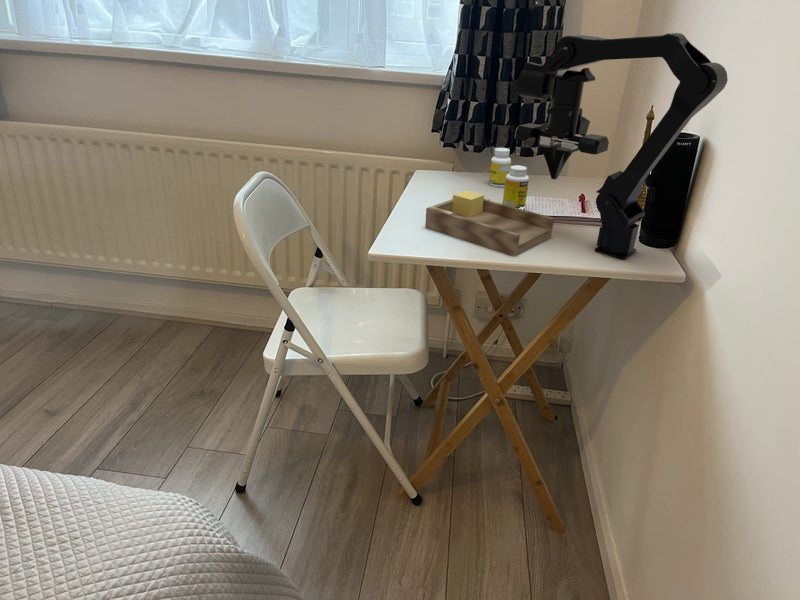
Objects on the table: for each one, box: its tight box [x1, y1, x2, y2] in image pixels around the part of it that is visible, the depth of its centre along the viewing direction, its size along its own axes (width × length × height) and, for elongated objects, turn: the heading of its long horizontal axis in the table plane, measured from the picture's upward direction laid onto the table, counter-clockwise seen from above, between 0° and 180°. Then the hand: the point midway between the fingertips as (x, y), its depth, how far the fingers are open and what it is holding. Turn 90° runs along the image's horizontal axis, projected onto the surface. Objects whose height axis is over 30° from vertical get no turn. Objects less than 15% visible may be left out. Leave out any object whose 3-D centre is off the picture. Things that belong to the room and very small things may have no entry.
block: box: [452, 190, 485, 217], centre depth 138 cm, size 5×5×4 cm
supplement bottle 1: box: [488, 147, 512, 188], centre depth 165 cm, size 5×5×10 cm
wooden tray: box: [424, 197, 555, 257], centre depth 132 cm, size 23×15×5 cm, turn 49°
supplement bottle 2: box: [502, 164, 530, 208], centre depth 146 cm, size 6×6×10 cm
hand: (554, 178), depth 129 cm, fingers closed
